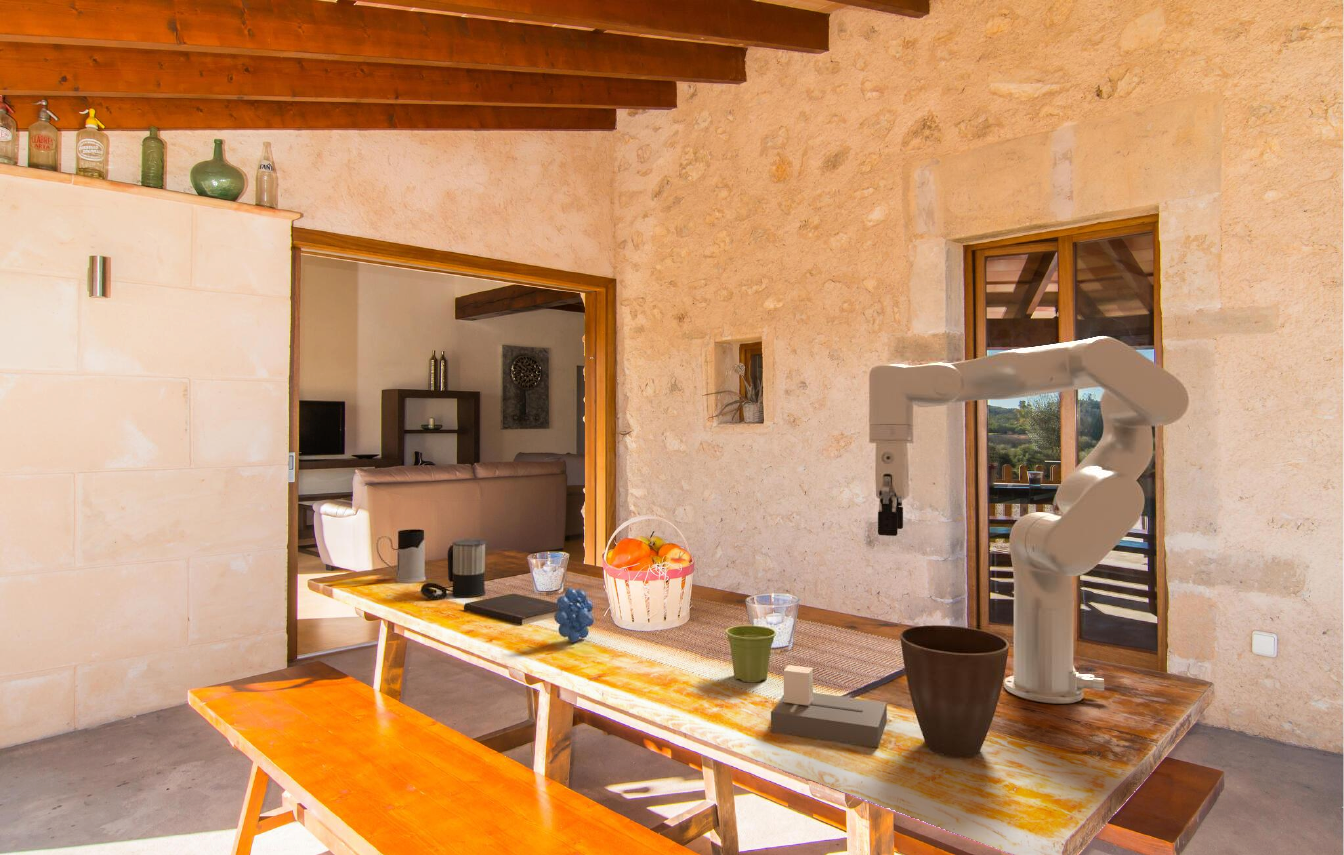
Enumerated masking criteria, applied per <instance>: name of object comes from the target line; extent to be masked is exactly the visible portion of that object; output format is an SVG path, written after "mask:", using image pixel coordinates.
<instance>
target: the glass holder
mask: <svg viewBox="0 0 1344 855" xmlns="http://www.w3.org/2000/svg"><path fill="white" fill-rule="evenodd" d="M383 538H387V539H388V540H389V542H390V548H391V549H392V550H393V551H397V552H396V553H397V554H396V555H397V556H396V558H397V560H396V561H397V563H396V564H397V566H396V568H397V569H395V568H394V567H393V566H391V565H390V564H388V562H386V561H385V560H384V559H383V557H382V556H381V553H380V551H379V546H378V545H379V540H381V539H383ZM425 539H426V538H425V530H424V529H419V528H418V529H416V528H413V529H401V530H398V531H397V548H393V541H392V539H391V538H390V537H389V536H387V535H382V536H380V537H379V538H377V541H376V552H377V555H378V557H379V559H380V561H381V562H383V564H385V565H386V566H387V567H389V568H390V569H391V570H393V572H395V576H397V577H396V580H395V582H396V583H397V584H398V583H399V584H416V583H421V582H425V581H427V579H426V578H427V577H426V575H425V572H426V571H425V570H426V569H425V568H426V567H425V566H426V565H425V559H426V558H425V554H426V553H425V550H426V546H425V544H426V543H425V542H426V540H425Z"/></svg>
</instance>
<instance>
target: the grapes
mask: <svg viewBox="0 0 1344 855" xmlns="http://www.w3.org/2000/svg"><path fill="white" fill-rule="evenodd" d="M587 595H588V594H587V592H586V591H585V590H584V589H581V588H580V589H577V590H576V589H575V588H573V587H568V588H567V589H566V590H565V592H564V595H561V596H559V597H558V598H557V600H556V603H557V606H558V607H559V609H561V610H558V611H556V613H555V615H554V617H553V619H554V621H555V622H556V624H559V626H558V629H557V631H558V633H559V636H562V637H563V638H567V639H568V641H569V642H571V643H576V642H579V640H580V639H586V638H587V637H588V635H589V632H590V630H589V628H588V627H591V626H593V624H594V622H595V618H594V616H593V615H592V613H590V612H592V611H593V609H594V604H593V602H592V600H590V599H589V598H588V596H587Z"/></svg>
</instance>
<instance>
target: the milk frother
mask: <svg viewBox="0 0 1344 855" xmlns="http://www.w3.org/2000/svg"><path fill="white" fill-rule="evenodd" d="M486 543H487V541H486V540H483V539H478V538H477V539H472V538H470V539H465V538H464V539H456V540H453V541H452V542H451V545H450V546H449V547H448V548H447V549H448V550H447V577H448V581H449V582H450V583H452V590H450V589H448V588H446V587H445V586H443V585H440V584H437V583H432V582H427V583H424V584H423V585H422V586H421V587H420V593H421V595H423V596H424V597H426V598H428V599H429V600H432V599H443V598H446V596H447V592H451V596H453V597H456V598H475V597H476V598H477V597H481V596H484V595H485V594H486V589H485V569H486V567H485V566H486ZM436 589H437V590H436ZM438 590H439V591H440V592H441V593H438V594H437V591H438Z"/></svg>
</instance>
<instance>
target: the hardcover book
mask: <svg viewBox="0 0 1344 855" xmlns="http://www.w3.org/2000/svg"><path fill="white" fill-rule="evenodd" d="M558 610H561V609H559V607H558V606H557V602H554V601H550V600H545V599H540V598H535V597H532V596H526V595H522V594H518V593H509V594H505V595H500V596H495V597H490V598H484V599H479V600H474V601H470V602H465V603H464V605H463V611H465V612H468V613H472V614H477V615H481V616H483V617H488V618H491V619H495V620H499V621H503V622H506V623H512V624H513V625H517V626H523V625H527V624H532V623H536V622H540V621H544V620H548V619H554V615H555V613H556V611H558Z"/></svg>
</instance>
